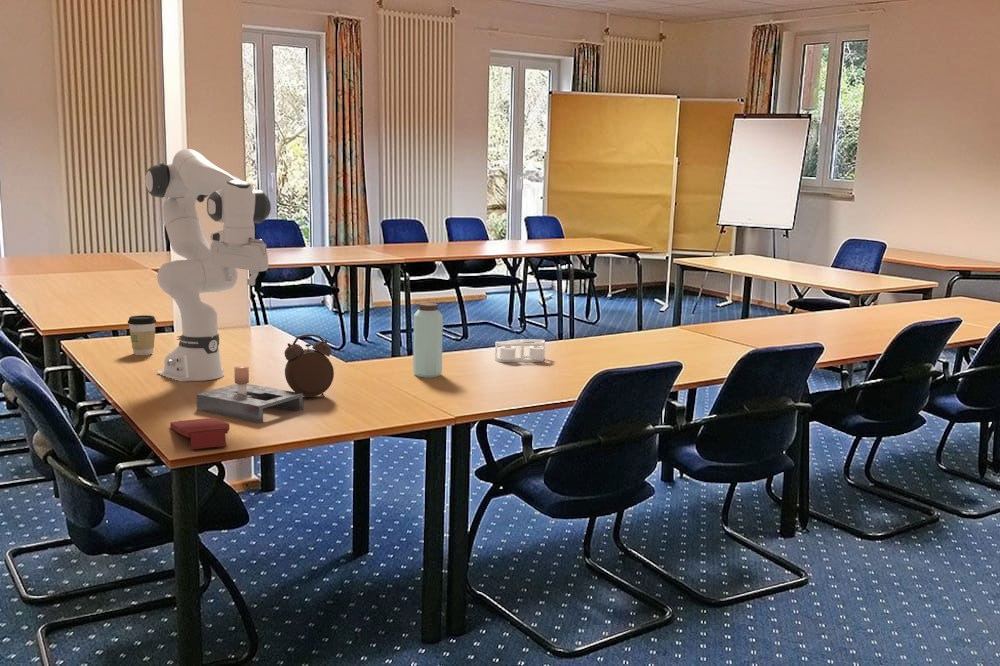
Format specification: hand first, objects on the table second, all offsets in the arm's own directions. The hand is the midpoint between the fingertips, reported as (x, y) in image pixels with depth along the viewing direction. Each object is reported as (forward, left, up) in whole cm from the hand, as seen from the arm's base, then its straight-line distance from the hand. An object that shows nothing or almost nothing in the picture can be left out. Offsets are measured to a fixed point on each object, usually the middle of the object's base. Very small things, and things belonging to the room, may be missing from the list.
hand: (239, 283), depth 275 cm
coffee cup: (-74, +26, -36) cm, 86 cm away
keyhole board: (+10, -7, -36) cm, 38 cm away
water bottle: (+26, +62, -36) cm, 76 cm away
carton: (+8, -27, -37) cm, 46 cm away
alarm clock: (+14, +14, -36) cm, 41 cm away
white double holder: (+41, +104, -36) cm, 117 cm away
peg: (+7, -7, -36) cm, 37 cm away
